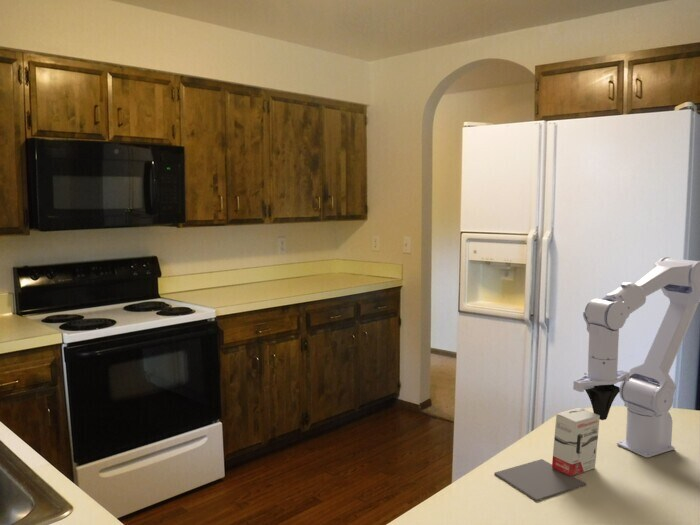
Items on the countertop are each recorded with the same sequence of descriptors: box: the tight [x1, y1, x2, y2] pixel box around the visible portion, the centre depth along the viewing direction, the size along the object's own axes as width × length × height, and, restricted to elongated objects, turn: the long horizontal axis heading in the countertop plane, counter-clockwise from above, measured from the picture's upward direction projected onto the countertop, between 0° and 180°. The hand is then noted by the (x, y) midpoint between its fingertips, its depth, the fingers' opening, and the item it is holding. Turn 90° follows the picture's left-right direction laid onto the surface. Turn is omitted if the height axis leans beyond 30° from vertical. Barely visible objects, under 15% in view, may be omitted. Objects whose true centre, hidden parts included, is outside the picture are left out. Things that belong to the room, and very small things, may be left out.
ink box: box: [551, 407, 600, 477], centre depth 123 cm, size 8×5×12 cm, turn 124°
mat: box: [494, 458, 587, 502], centre depth 119 cm, size 13×12×1 cm
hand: (600, 418), depth 125 cm, fingers closed
